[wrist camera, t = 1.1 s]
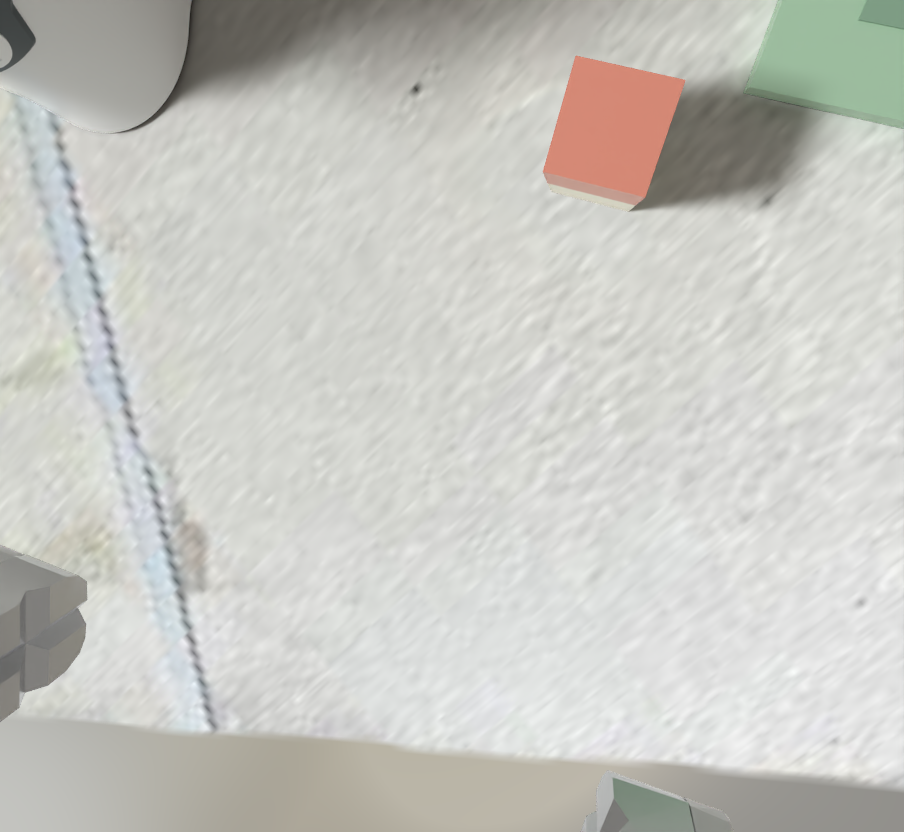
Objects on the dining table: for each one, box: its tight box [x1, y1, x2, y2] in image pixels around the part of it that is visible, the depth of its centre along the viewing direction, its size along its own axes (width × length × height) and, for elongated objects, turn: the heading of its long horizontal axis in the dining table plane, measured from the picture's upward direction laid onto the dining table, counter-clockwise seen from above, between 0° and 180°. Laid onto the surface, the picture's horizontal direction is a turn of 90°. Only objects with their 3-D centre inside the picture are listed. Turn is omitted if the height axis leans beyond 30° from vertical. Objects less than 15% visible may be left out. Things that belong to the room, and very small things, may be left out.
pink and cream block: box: [543, 56, 685, 211], centre depth 29 cm, size 5×5×9 cm
